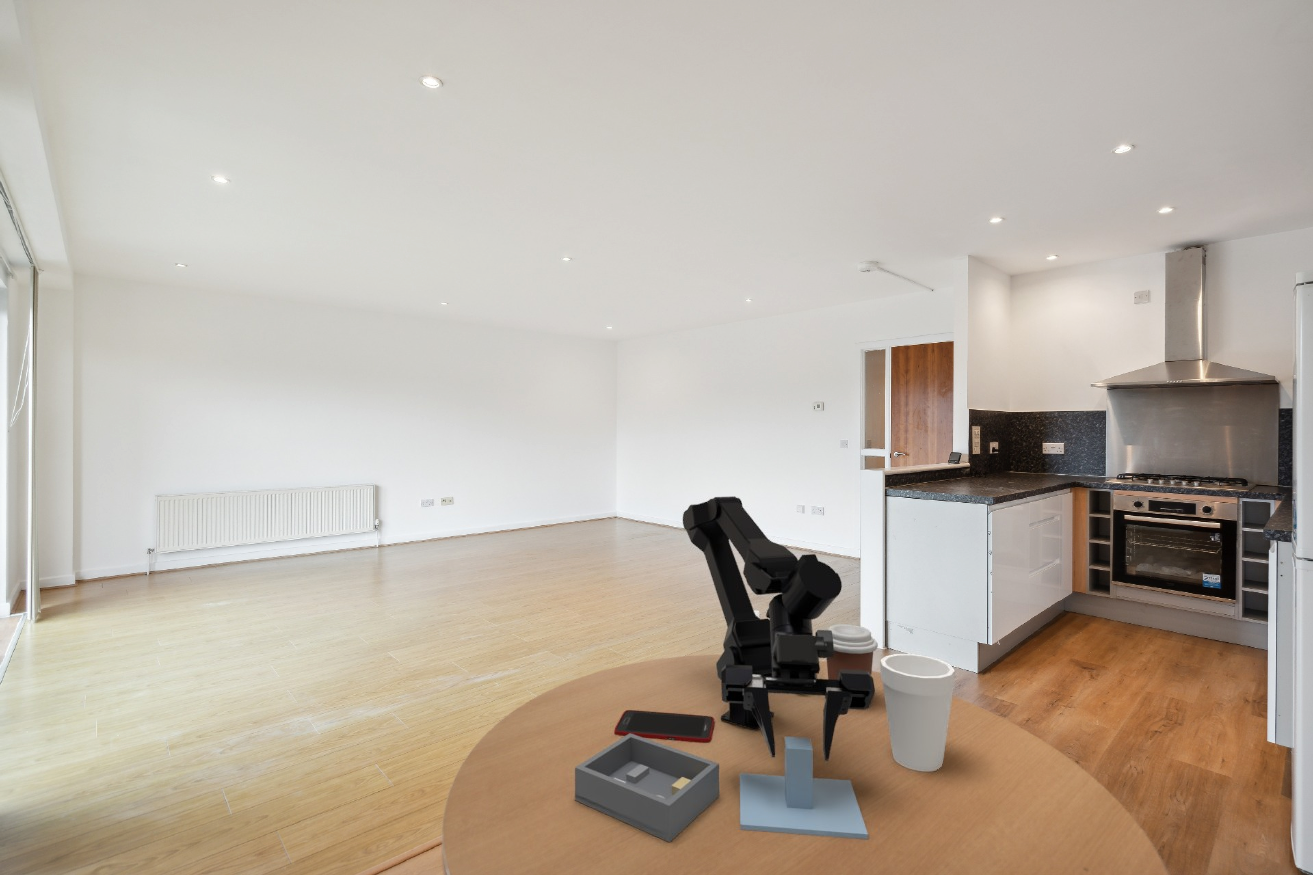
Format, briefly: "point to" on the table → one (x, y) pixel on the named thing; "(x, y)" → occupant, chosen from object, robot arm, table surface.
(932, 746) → the foam cup
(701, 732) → the cell phone
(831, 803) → the tub lid
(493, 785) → the table surface
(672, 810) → the parts tub
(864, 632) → the coffee cup
